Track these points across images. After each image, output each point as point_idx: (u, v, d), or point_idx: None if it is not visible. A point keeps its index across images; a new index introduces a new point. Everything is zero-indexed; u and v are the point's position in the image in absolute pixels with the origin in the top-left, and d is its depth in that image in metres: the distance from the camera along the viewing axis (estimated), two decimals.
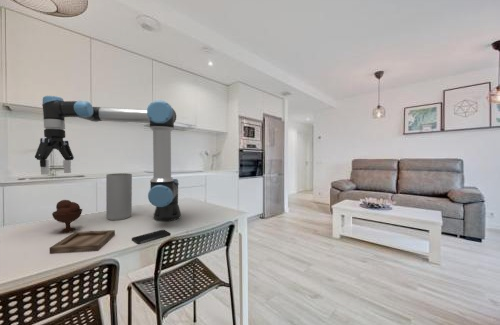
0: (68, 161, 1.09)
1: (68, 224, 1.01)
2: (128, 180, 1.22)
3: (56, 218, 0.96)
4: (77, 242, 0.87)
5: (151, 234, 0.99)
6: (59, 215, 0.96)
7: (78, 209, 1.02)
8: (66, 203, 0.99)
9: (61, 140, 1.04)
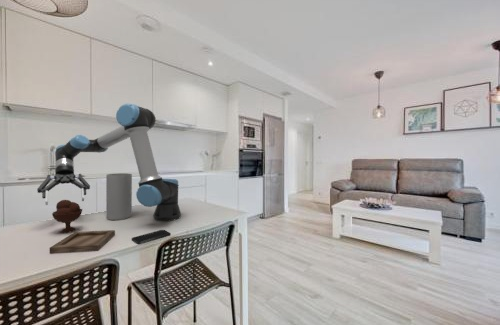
0: (81, 189, 1.12)
1: (68, 224, 1.01)
2: (128, 180, 1.22)
3: (56, 218, 0.96)
4: (77, 242, 0.87)
5: (151, 234, 0.99)
6: (59, 215, 0.96)
7: (78, 209, 1.02)
8: (66, 203, 0.99)
9: (70, 174, 1.14)
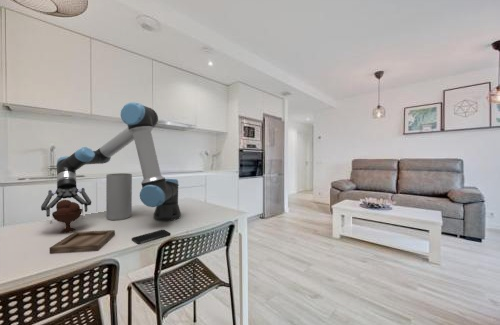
0: None
1: (68, 224, 1.01)
2: (128, 180, 1.22)
3: (56, 218, 0.96)
4: (77, 242, 0.87)
5: (151, 234, 0.99)
6: (59, 215, 0.96)
7: (78, 209, 1.02)
8: (66, 203, 0.99)
9: (73, 188, 1.08)
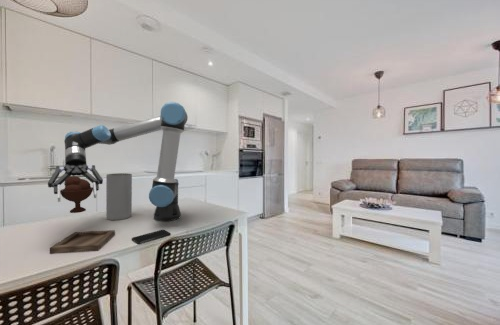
0: (93, 184, 0.94)
1: (78, 203, 0.90)
2: (128, 180, 1.22)
3: (64, 196, 0.85)
4: (77, 242, 0.87)
5: (151, 234, 0.99)
6: (68, 192, 0.85)
7: (88, 187, 0.91)
8: (75, 179, 0.88)
9: (83, 165, 0.97)
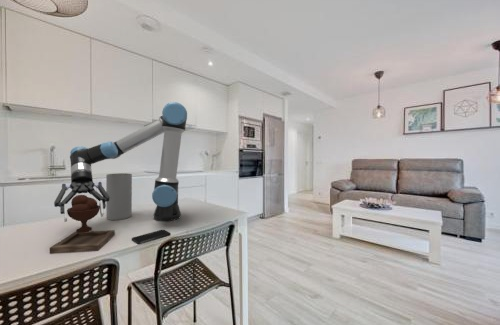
0: (100, 202, 0.92)
1: (84, 223, 0.88)
2: (128, 180, 1.22)
3: (71, 216, 0.83)
4: (77, 242, 0.87)
5: (151, 234, 0.99)
6: (75, 212, 0.83)
7: (96, 206, 0.89)
8: (83, 198, 0.86)
9: (89, 182, 0.95)
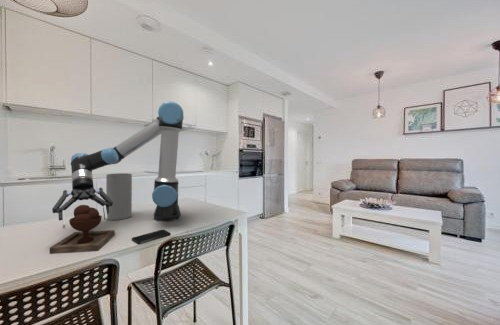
0: (103, 207, 0.93)
1: (86, 233, 0.88)
2: (128, 180, 1.22)
3: (74, 226, 0.84)
4: None
5: (151, 234, 0.99)
6: (77, 222, 0.83)
7: (98, 215, 0.90)
8: (85, 209, 0.87)
9: (90, 189, 0.96)
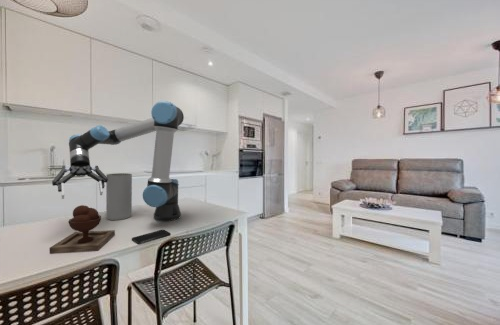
0: (99, 182, 1.02)
1: (86, 233, 0.88)
2: (128, 180, 1.22)
3: (73, 227, 0.84)
4: None
5: (151, 234, 0.99)
6: (77, 223, 0.83)
7: (97, 216, 0.90)
8: (84, 209, 0.86)
9: (86, 166, 1.04)
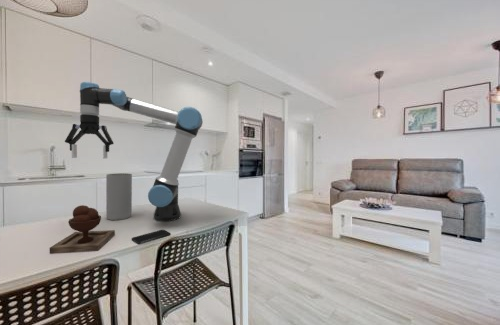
0: None
1: (86, 233, 0.88)
2: (128, 180, 1.22)
3: (73, 227, 0.84)
4: None
5: (151, 234, 0.99)
6: (76, 223, 0.83)
7: (97, 216, 0.90)
8: (84, 209, 0.86)
9: (94, 125, 1.05)
